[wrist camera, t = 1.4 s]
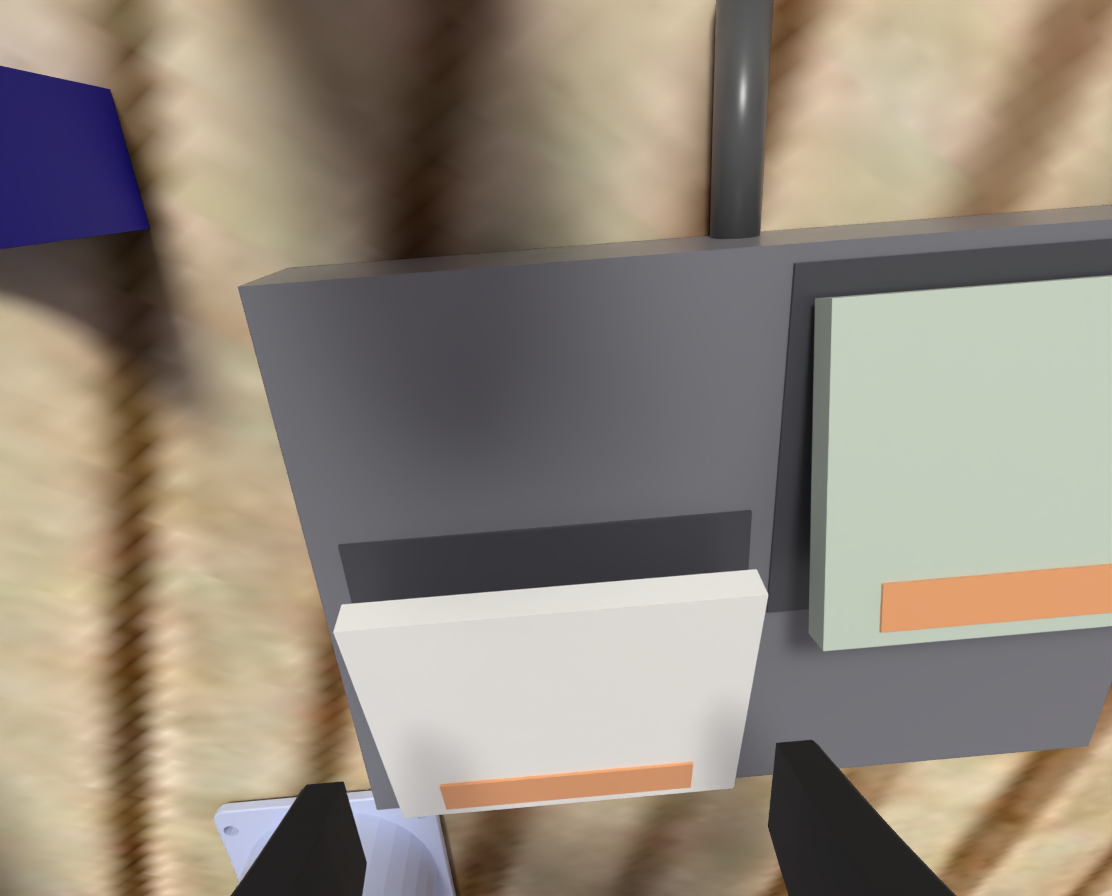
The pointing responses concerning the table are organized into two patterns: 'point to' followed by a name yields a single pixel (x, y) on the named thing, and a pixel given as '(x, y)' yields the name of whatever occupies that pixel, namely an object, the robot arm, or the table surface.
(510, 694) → the cream rocker
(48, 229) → the blue curved bracket
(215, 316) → the table surface
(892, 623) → the plate
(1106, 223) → the switch block
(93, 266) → the table surface
